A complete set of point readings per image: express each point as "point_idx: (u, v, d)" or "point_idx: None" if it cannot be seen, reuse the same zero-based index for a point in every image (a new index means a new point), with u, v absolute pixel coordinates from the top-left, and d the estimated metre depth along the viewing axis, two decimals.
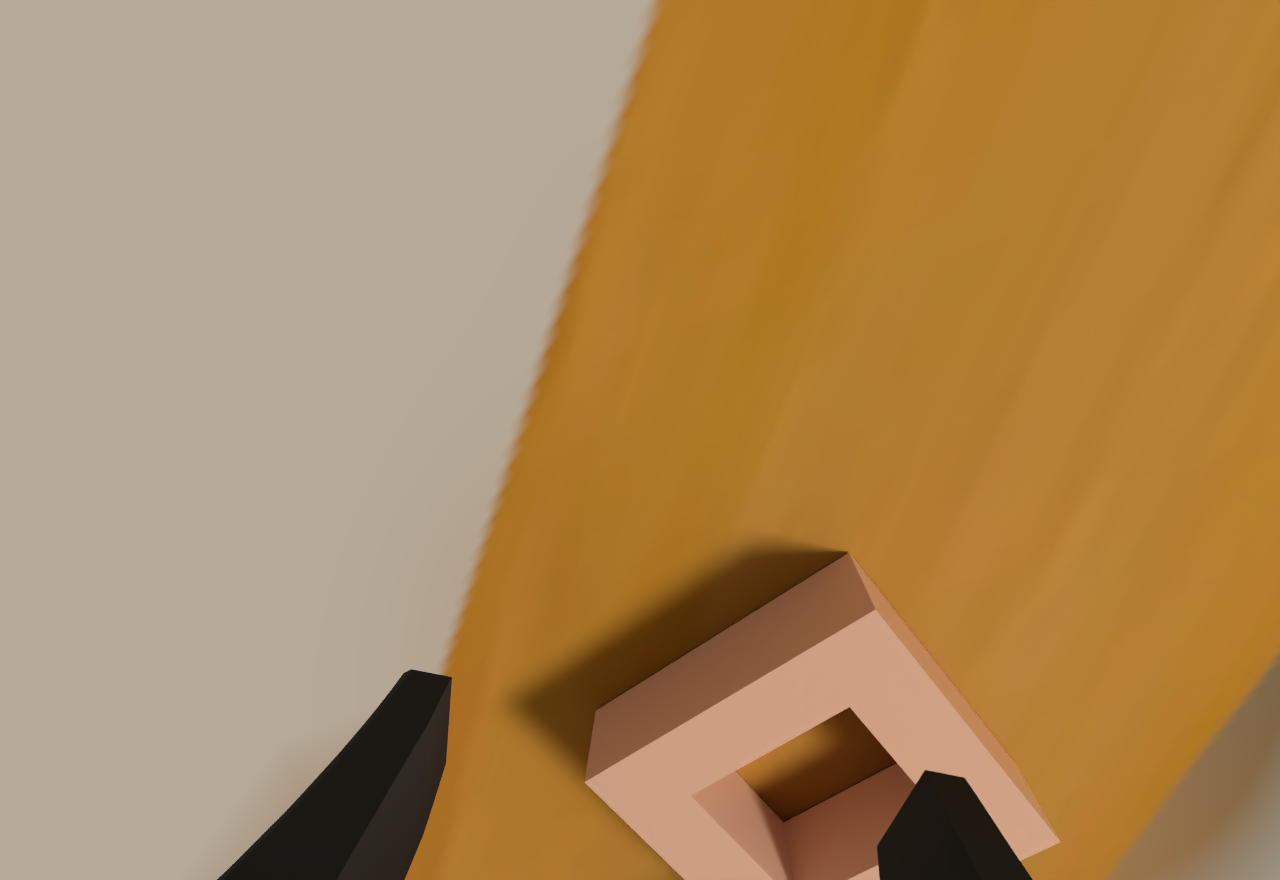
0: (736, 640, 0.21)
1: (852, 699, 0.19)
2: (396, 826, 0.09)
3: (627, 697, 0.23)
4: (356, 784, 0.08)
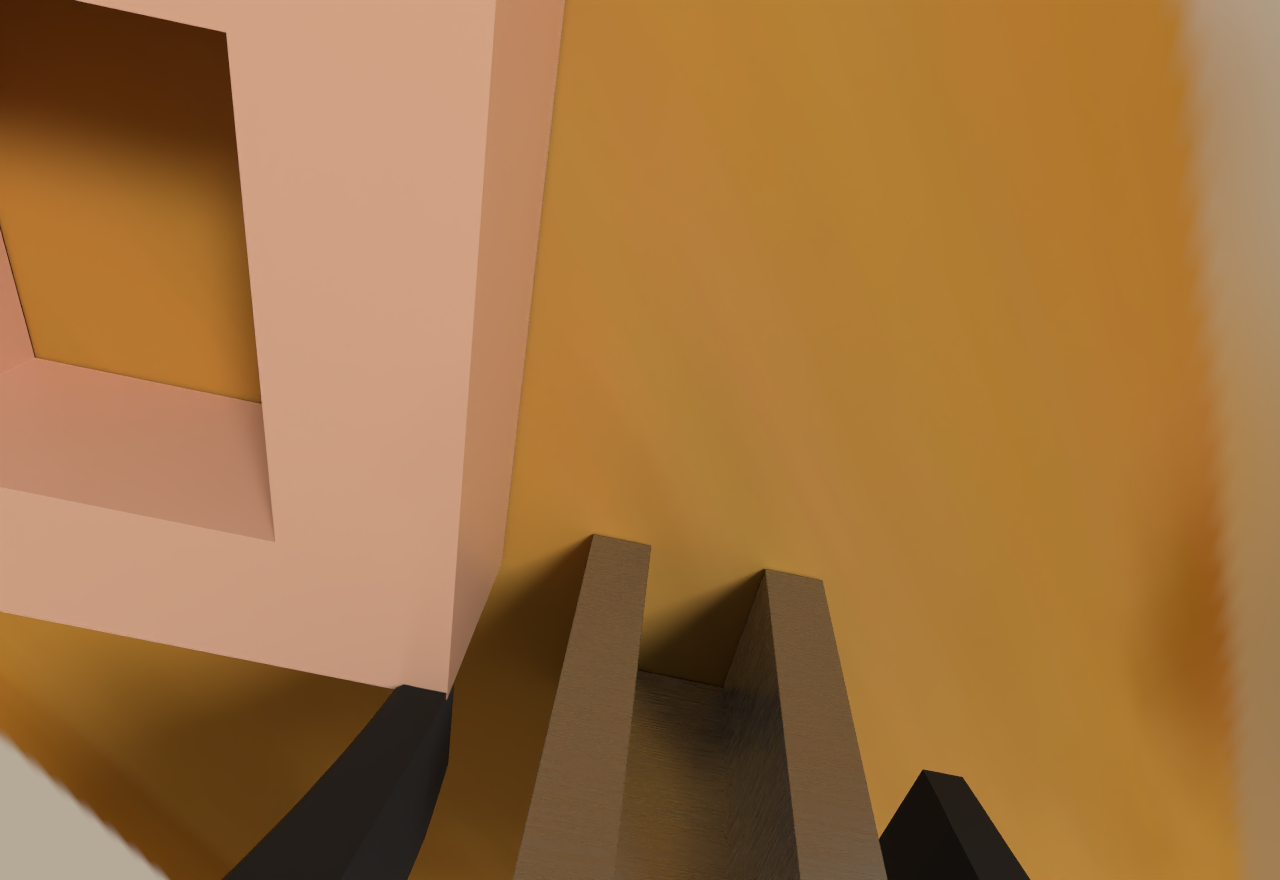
0: None
1: None
2: (399, 827, 0.09)
3: None
4: (359, 785, 0.08)
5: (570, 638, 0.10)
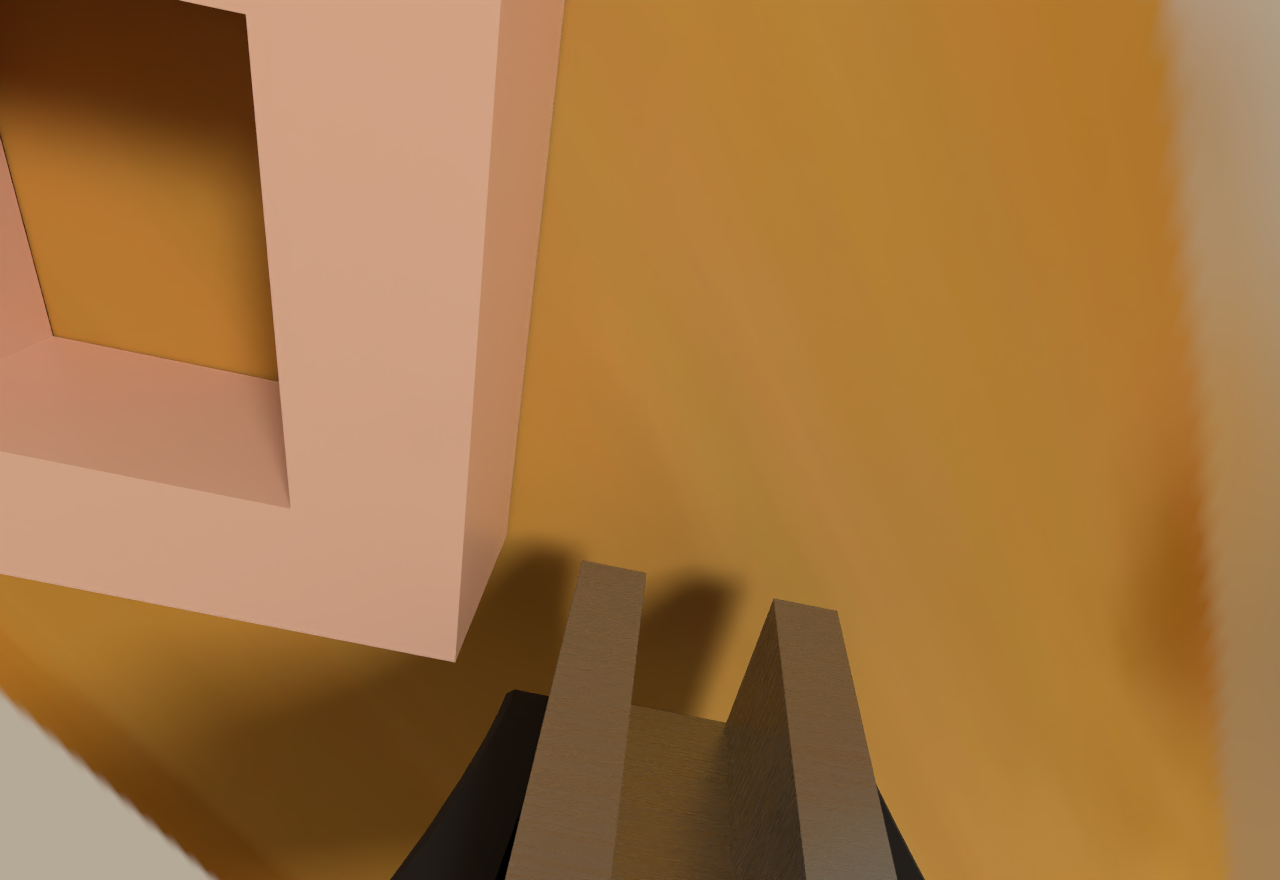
0: None
1: None
2: None
3: None
4: (485, 809, 0.08)
5: (552, 687, 0.09)
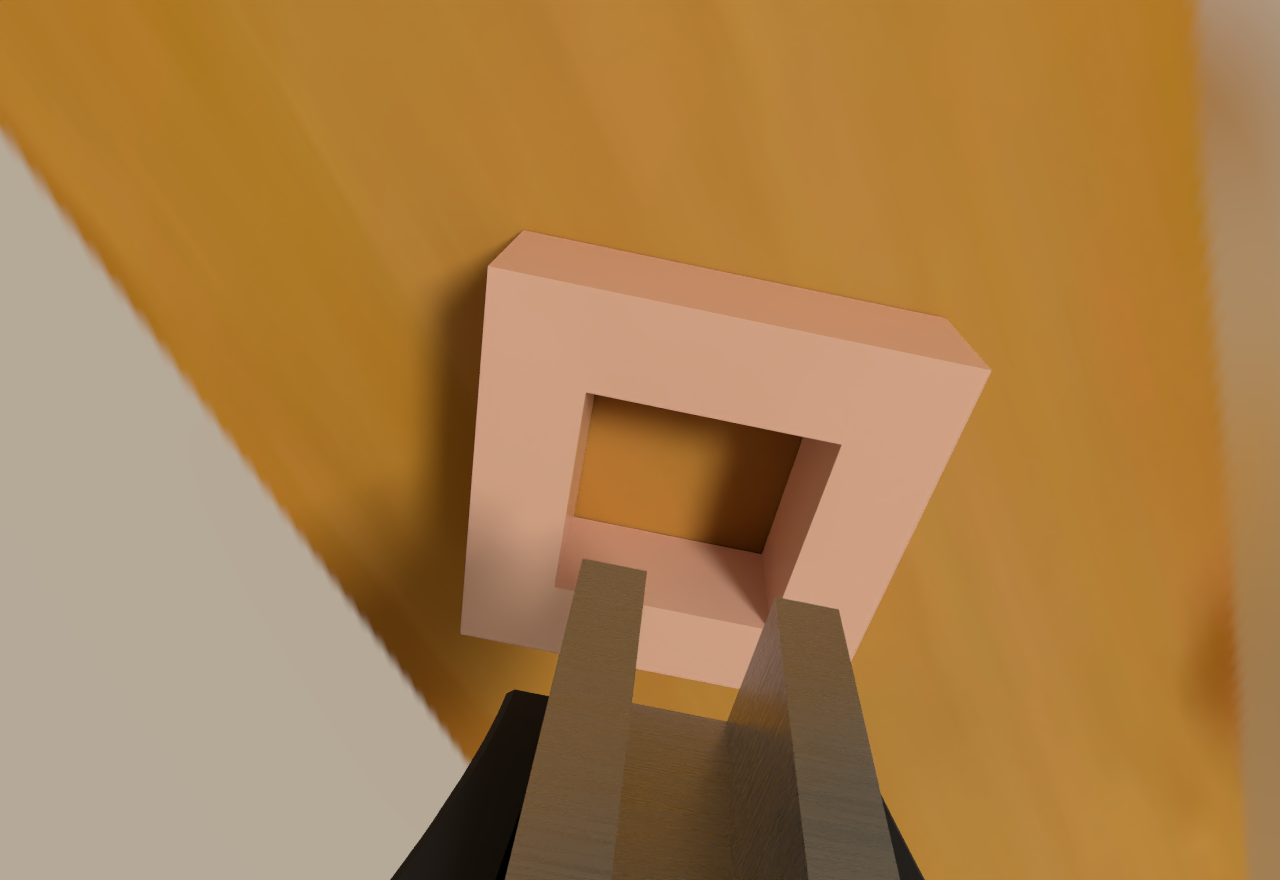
0: None
1: (579, 382, 0.14)
2: None
3: None
4: (485, 809, 0.08)
5: (553, 686, 0.09)
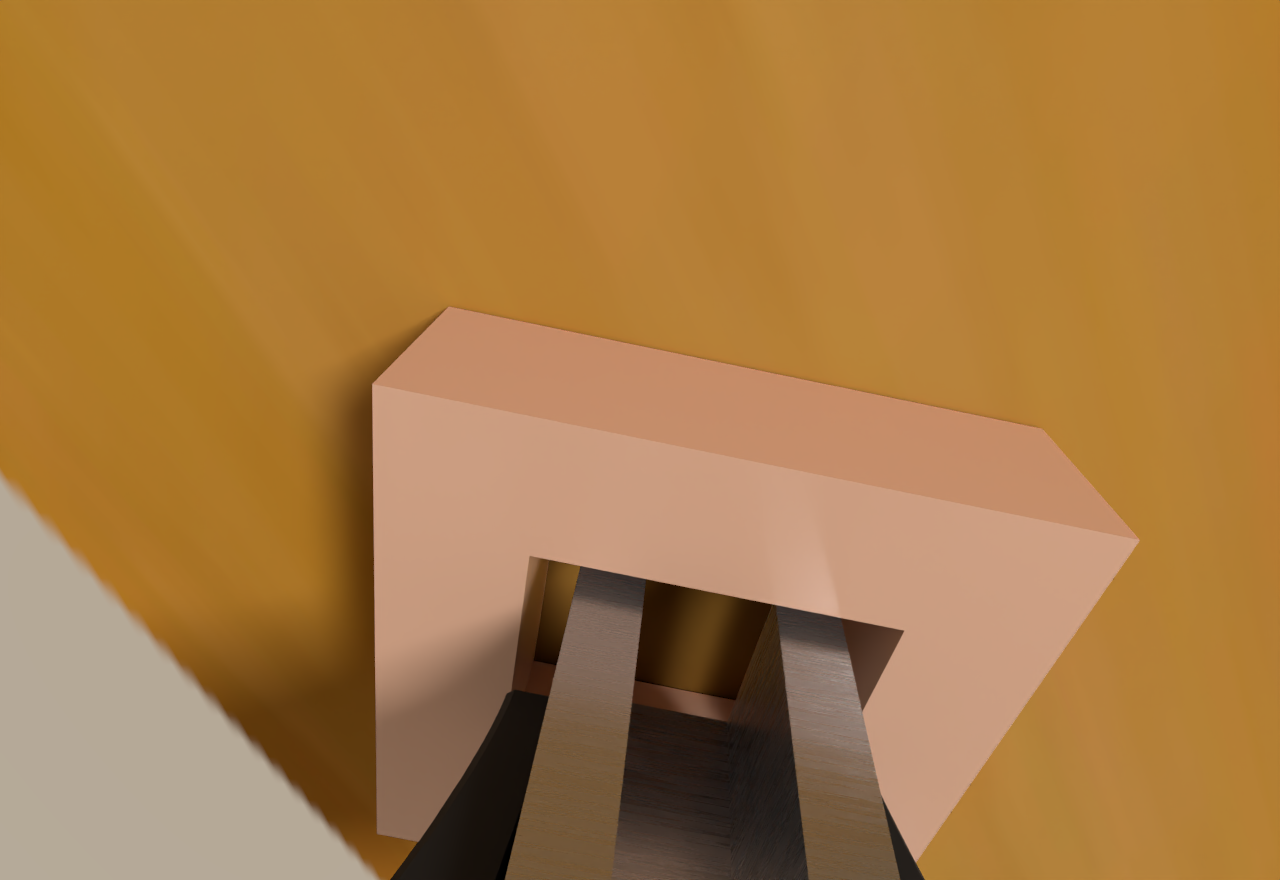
0: None
1: (518, 542, 0.10)
2: None
3: None
4: (486, 809, 0.08)
5: (553, 685, 0.09)
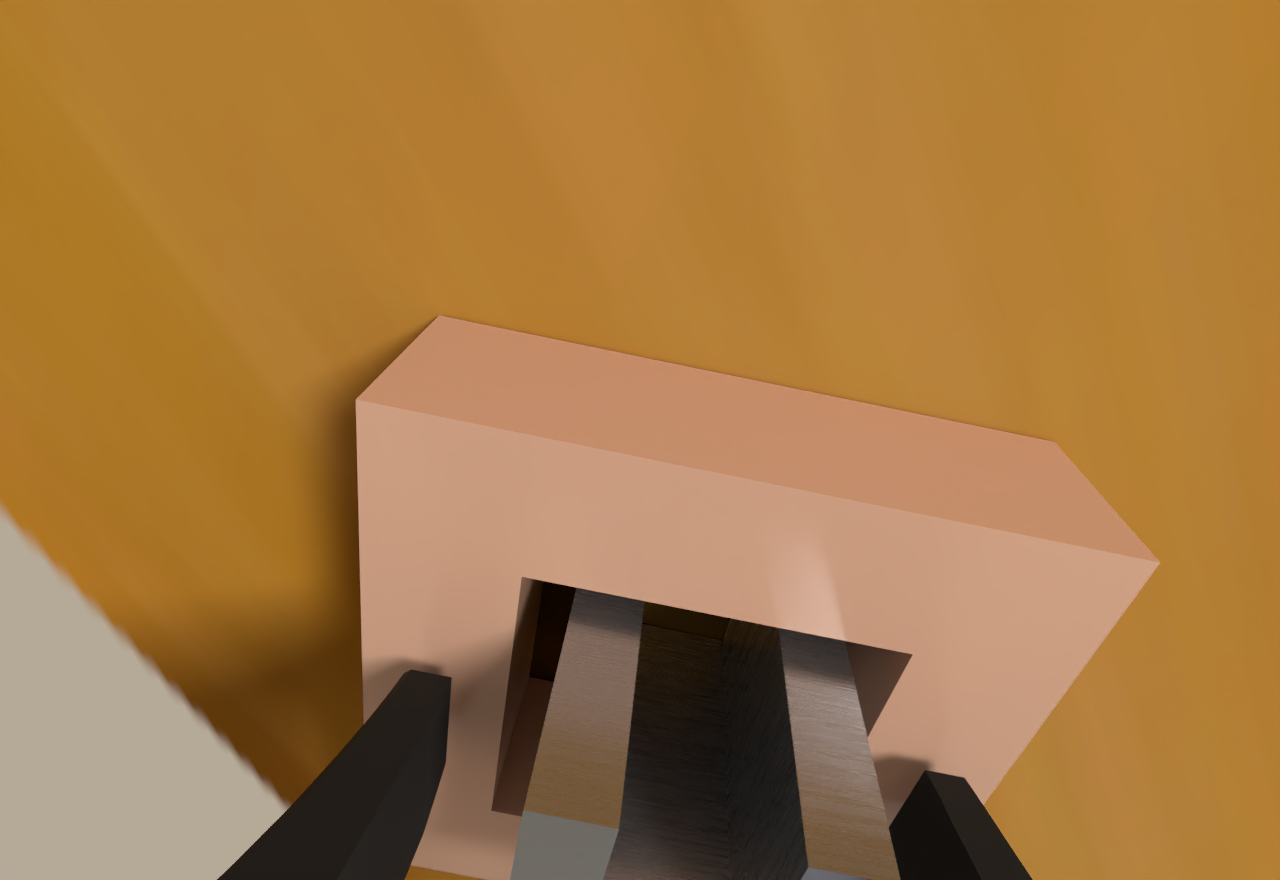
0: None
1: (510, 563, 0.09)
2: (396, 826, 0.09)
3: None
4: (356, 784, 0.08)
5: None
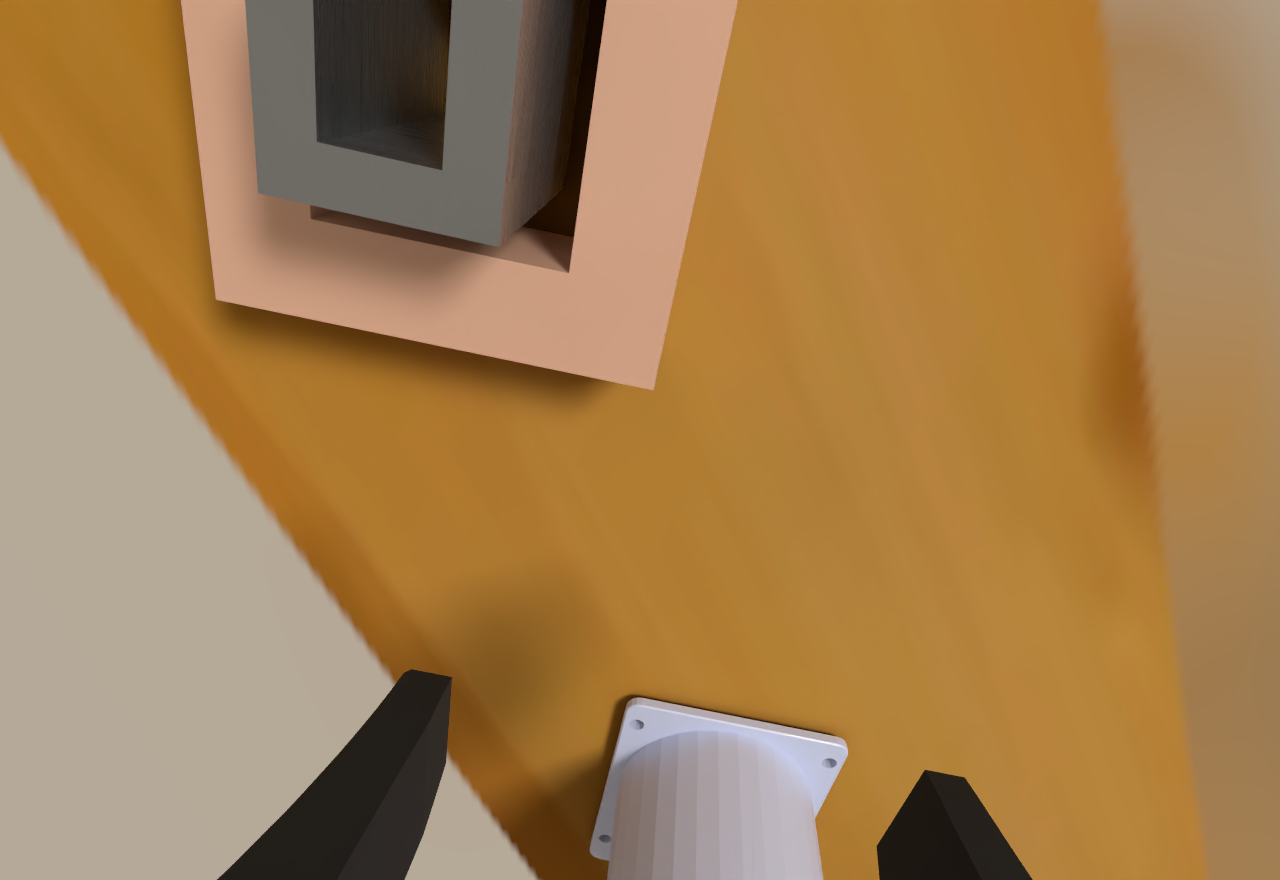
0: None
1: None
2: (396, 826, 0.09)
3: None
4: (356, 784, 0.08)
5: None
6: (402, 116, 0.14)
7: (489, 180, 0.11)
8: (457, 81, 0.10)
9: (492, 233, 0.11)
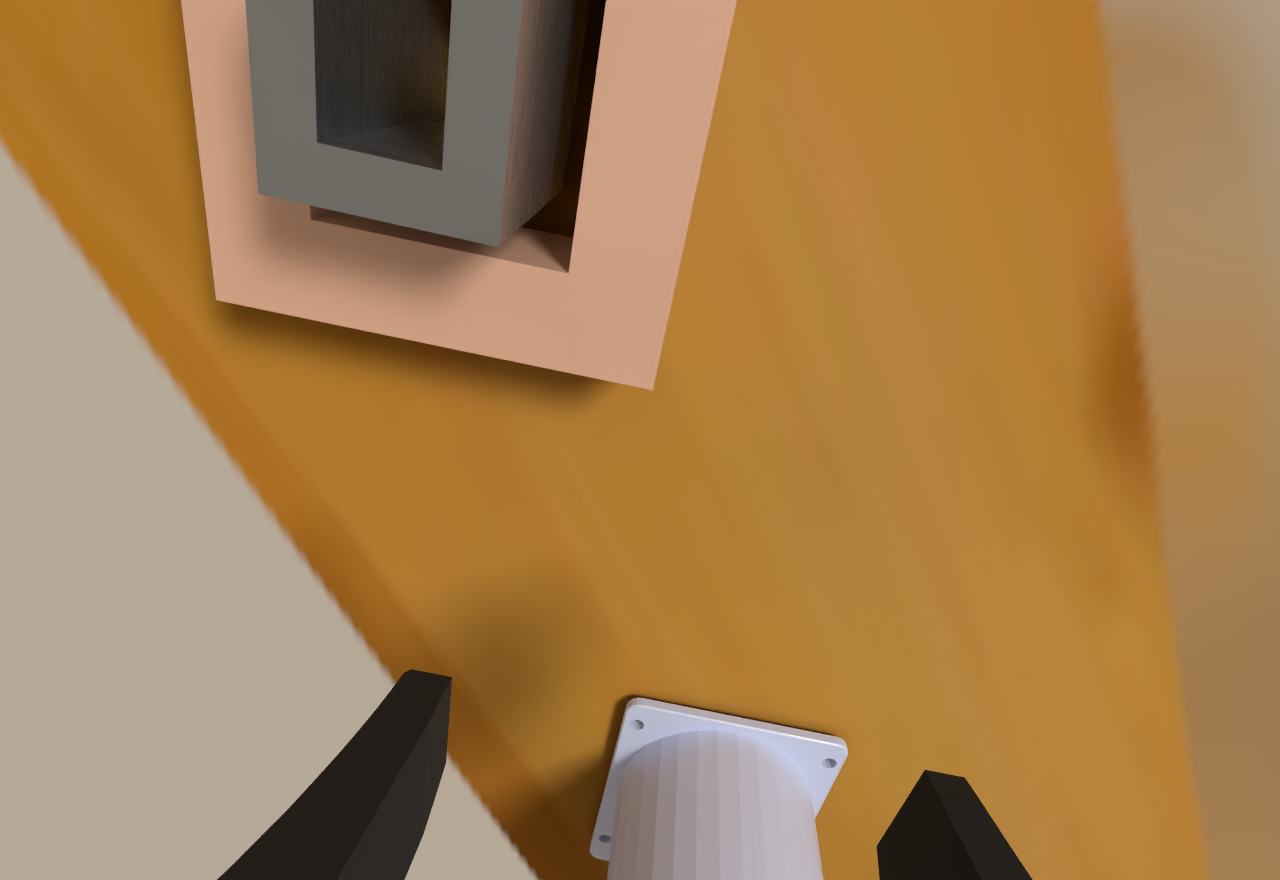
0: None
1: None
2: (396, 826, 0.09)
3: None
4: (356, 784, 0.08)
5: None
6: (402, 117, 0.14)
7: (489, 180, 0.11)
8: (457, 81, 0.10)
9: (492, 233, 0.11)
